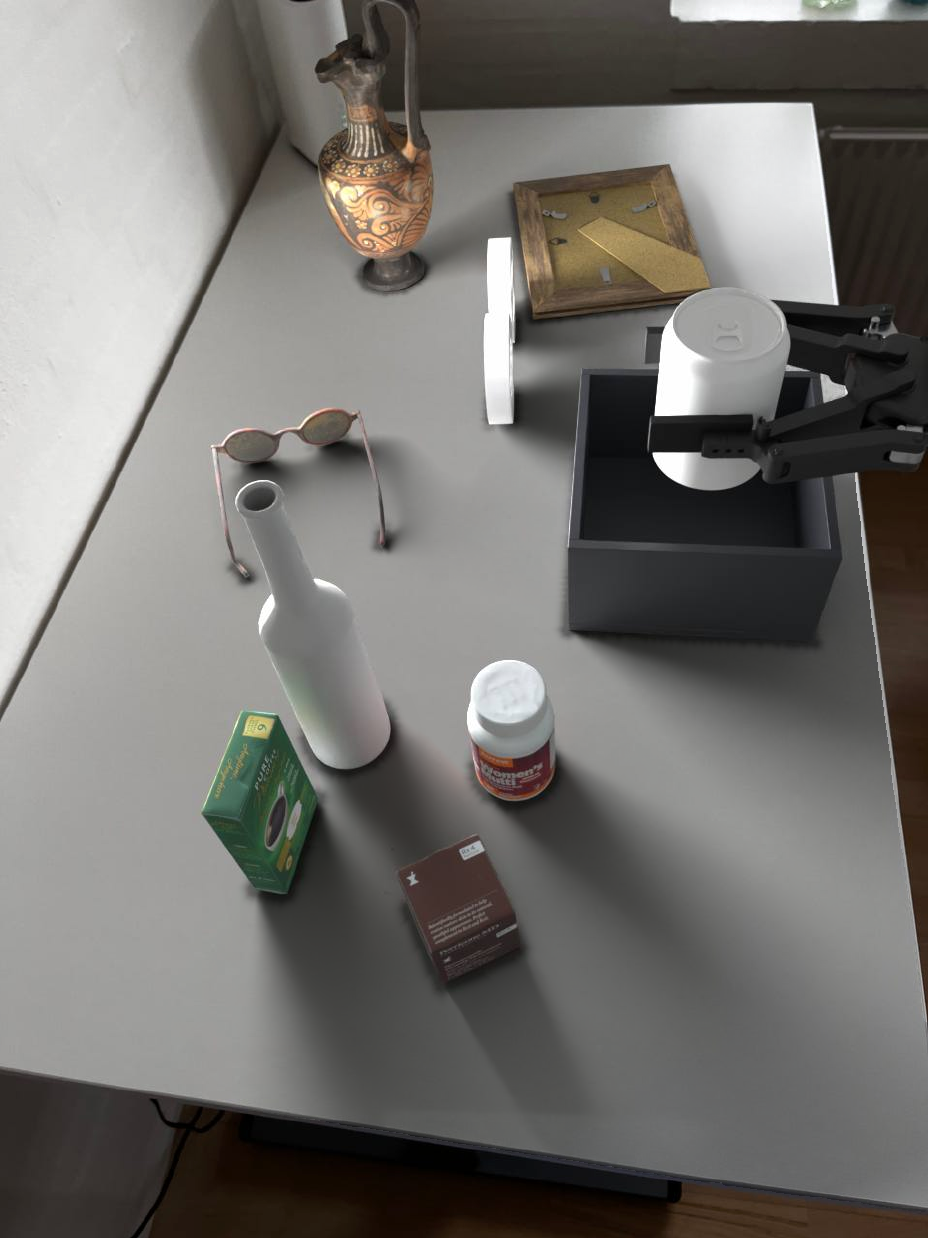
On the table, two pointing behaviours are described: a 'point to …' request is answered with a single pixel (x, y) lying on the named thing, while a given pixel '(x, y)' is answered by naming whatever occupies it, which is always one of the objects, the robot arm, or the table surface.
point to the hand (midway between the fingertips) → (647, 388)
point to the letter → (500, 332)
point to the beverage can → (720, 374)
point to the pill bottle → (512, 730)
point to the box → (460, 908)
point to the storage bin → (691, 530)
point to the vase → (378, 154)
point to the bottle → (314, 642)
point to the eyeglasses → (263, 445)
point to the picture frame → (607, 242)
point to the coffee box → (261, 801)
